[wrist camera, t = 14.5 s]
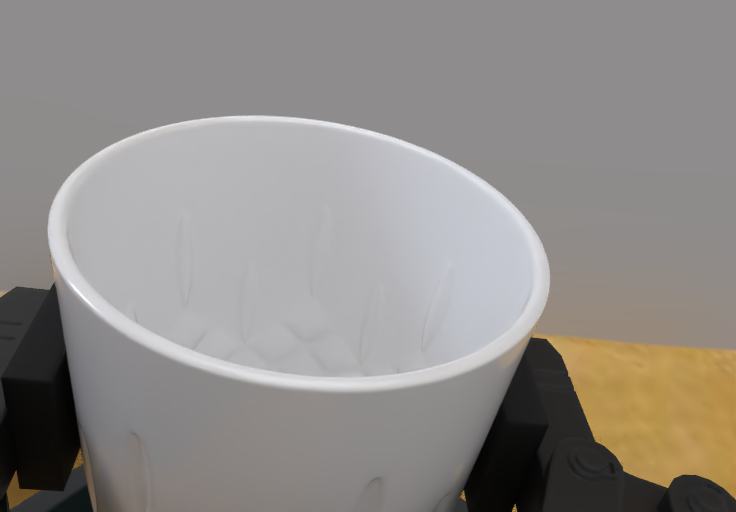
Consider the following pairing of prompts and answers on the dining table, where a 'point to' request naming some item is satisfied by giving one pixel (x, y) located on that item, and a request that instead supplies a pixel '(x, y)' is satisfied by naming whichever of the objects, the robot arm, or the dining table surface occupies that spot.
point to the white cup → (287, 317)
